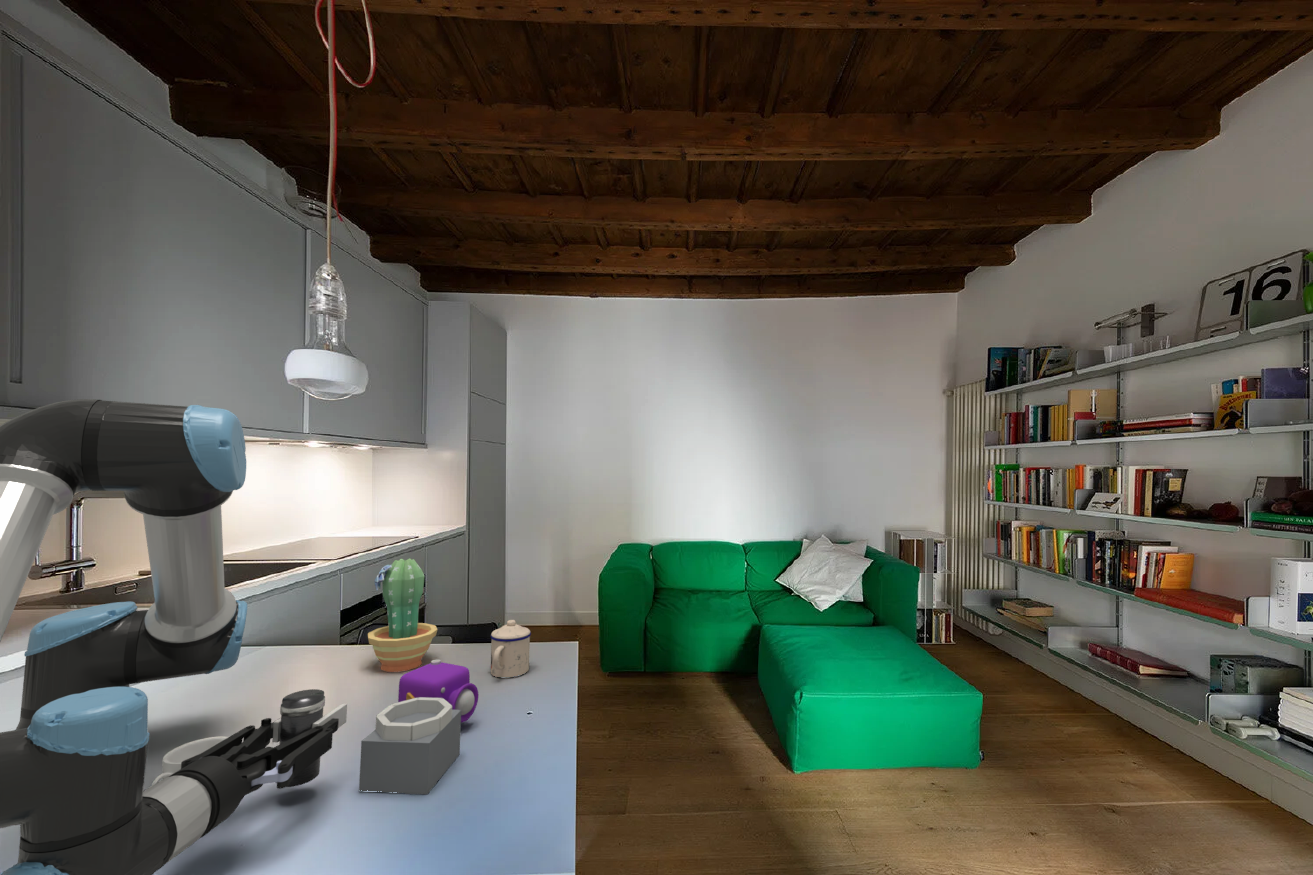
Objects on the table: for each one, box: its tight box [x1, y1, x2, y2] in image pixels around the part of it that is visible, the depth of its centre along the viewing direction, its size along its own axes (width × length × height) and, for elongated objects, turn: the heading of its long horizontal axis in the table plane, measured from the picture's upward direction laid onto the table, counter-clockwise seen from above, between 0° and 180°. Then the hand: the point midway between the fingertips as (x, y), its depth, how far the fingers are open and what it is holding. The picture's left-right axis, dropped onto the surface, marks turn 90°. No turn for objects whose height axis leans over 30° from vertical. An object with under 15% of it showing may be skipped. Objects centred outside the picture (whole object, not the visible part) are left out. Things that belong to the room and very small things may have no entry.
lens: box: [278, 688, 326, 788], centre depth 75 cm, size 5×5×11 cm
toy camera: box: [397, 659, 479, 724], centre depth 97 cm, size 11×14×10 cm
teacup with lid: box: [490, 619, 532, 678], centre depth 122 cm, size 12×9×12 cm
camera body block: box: [358, 697, 462, 795], centre depth 81 cm, size 10×11×9 cm
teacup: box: [150, 735, 229, 787], centre depth 75 cm, size 10×8×5 cm
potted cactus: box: [367, 558, 438, 673], centre depth 128 cm, size 15×15×25 cm
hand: (325, 712), depth 80 cm, fingers closed on lens, 5 cm apart
